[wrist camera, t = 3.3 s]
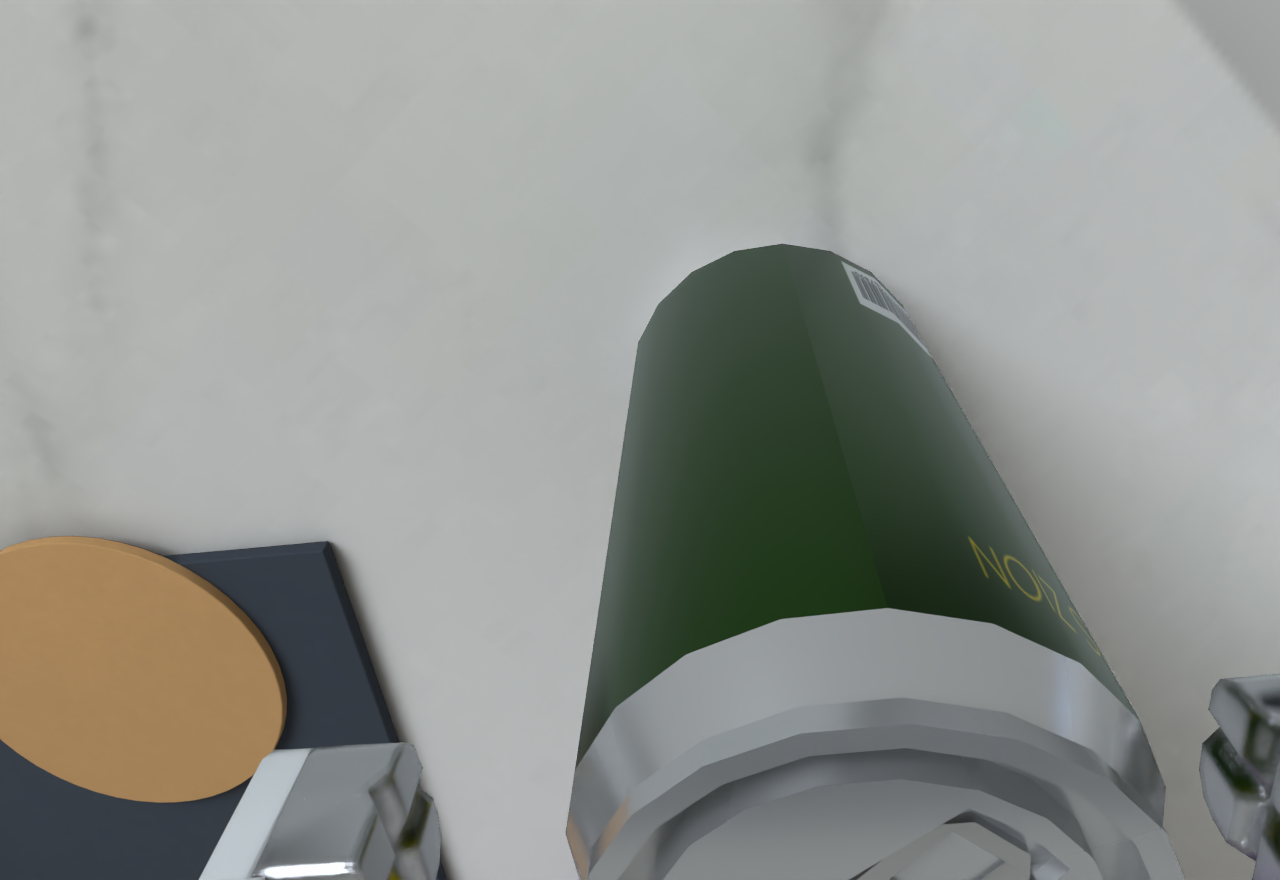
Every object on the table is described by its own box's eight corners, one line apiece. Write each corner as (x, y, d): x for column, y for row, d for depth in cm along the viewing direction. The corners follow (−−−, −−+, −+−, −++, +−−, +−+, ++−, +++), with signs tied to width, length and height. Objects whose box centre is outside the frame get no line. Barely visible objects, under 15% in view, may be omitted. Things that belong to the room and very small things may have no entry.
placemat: (316, 501, 20) (303, 518, 20) (504, 1044, 29) (500, 1067, 29) (-472, 577, 23) (-505, 594, 22) (-72, 1059, 32) (-88, 1081, 31)
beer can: (748, 172, 17) (839, 570, 6) (972, 340, 18) (1375, 916, 7) (581, 395, 19) (432, 972, 8) (791, 530, 20) (898, 1187, 9)
